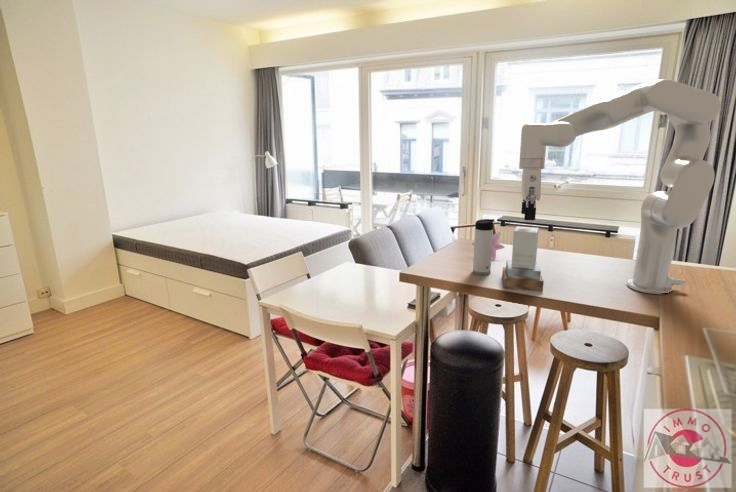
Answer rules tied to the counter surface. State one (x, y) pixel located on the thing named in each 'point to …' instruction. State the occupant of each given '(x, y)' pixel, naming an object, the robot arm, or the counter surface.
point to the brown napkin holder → (522, 278)
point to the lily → (495, 245)
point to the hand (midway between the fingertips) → (527, 216)
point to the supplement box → (525, 247)
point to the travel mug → (483, 246)
